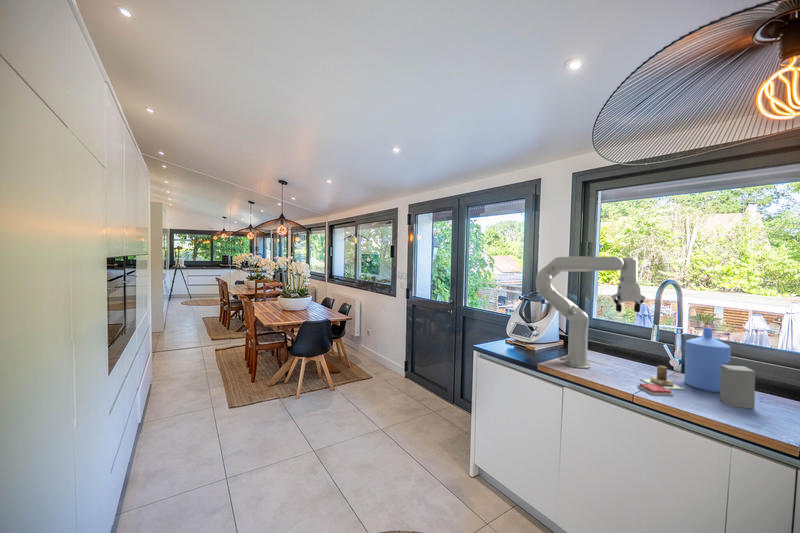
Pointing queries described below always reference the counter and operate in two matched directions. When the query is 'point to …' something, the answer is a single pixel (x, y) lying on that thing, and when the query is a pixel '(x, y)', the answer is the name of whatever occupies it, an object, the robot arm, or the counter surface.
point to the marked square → (664, 386)
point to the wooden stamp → (661, 377)
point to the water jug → (705, 361)
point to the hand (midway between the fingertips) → (627, 311)
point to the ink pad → (655, 389)
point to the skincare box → (737, 386)
